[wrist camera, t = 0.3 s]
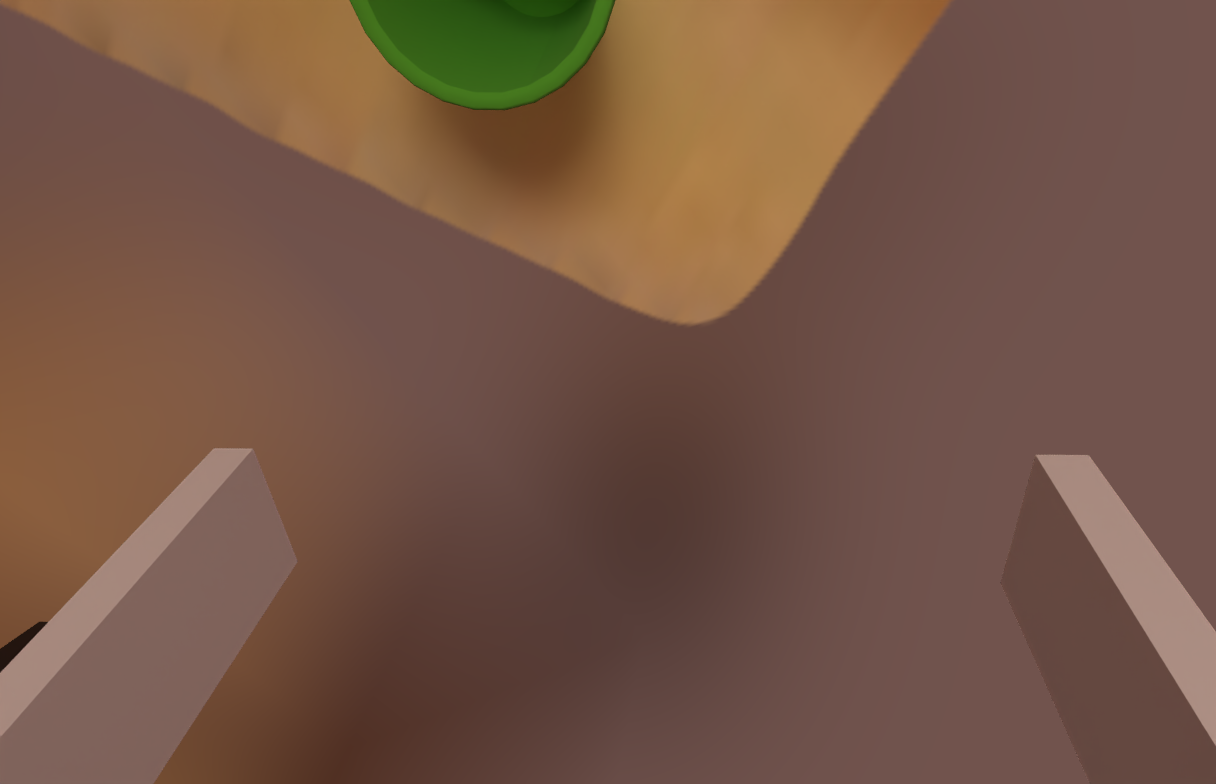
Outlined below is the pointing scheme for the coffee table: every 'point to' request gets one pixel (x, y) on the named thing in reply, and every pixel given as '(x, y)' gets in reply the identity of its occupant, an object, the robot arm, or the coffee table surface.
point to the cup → (486, 45)
